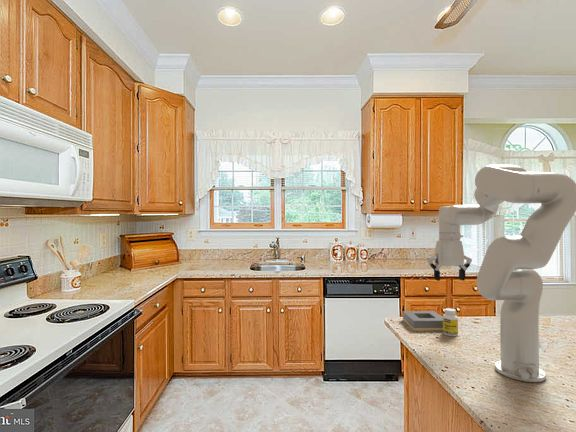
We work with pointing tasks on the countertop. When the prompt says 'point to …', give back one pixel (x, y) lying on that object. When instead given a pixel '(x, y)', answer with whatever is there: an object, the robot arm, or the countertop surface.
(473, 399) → the countertop surface
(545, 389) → the countertop surface
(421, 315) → the socket block
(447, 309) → the supplement bottle
